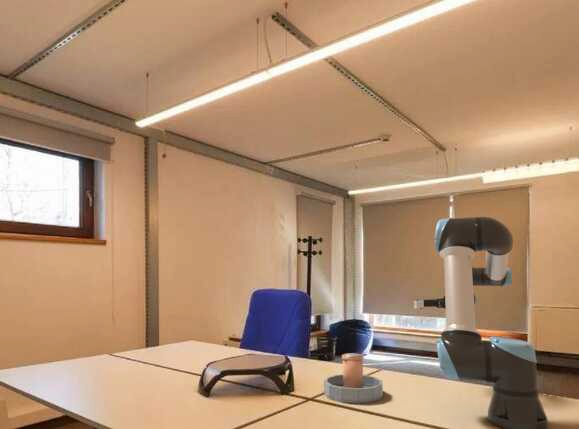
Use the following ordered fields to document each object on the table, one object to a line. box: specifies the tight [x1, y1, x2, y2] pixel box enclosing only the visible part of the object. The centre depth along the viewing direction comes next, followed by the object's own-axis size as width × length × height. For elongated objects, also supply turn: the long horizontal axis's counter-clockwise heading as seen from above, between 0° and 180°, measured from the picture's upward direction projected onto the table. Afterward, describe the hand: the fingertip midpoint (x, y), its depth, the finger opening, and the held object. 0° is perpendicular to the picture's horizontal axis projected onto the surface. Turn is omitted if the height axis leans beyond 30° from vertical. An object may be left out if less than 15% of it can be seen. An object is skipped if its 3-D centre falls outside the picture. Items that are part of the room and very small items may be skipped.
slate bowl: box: [323, 373, 384, 404], centre depth 149 cm, size 20×20×4 cm
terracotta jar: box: [341, 352, 364, 388], centre depth 150 cm, size 8×8×12 cm
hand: (432, 305), depth 156 cm, fingers open, 13 cm apart
